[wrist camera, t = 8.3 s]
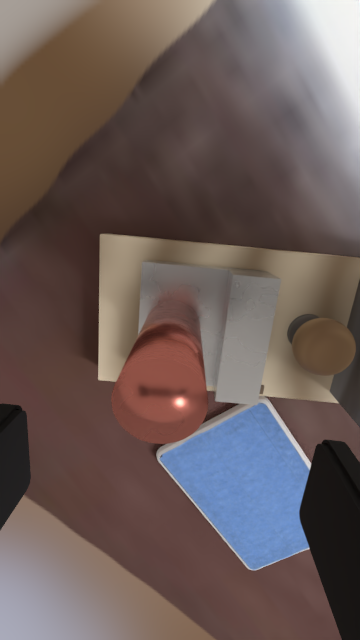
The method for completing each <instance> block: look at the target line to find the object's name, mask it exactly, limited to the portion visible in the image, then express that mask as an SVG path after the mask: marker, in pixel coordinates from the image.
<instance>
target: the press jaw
mask: <svg viewBox="0 0 360 640" xmlns="http://www.w3.org/2000/svg"><path fill="white" fill-rule="evenodd" d="M280 284H281V279H280V278H278V277H276V276H275V275H273V274H271V273H269V272H268V271H261V270H250V269H240V268H229V267H219V266H208V265H198V264H187V263H177V262H166V261H156V260H144V261H142V271H141V290H140V310H139V329H138V337H137V339H136V341H135V343H134V345H133V347H132V350H131V352H130V354H129V356H128V358H127V360H126V362H125V364H124V366H123V368H122V370H121V372H120V374H119V377H118V379H117V381H116V383H115V385H114V388H113V391H112V398H111V400H112V408H113V412H114V415H115V417H116V419H117V420H118V422H119V423H120V425H121V426H122V427H123V428H124V429H125V430H126V431H127V432H128V433H130V434H131V435H133V436H134V437H136V438H138V439H140V440H143V441H146V442H150V443H156V444H168V443H174V442H177V441H180V440H183V439H185V438H187V437H188V436H190V435H191V434H193V433H194V432H195V431H196V430H197V429H198V428H199V427H200V425H201V424H202V423H203V421H204V419H205V416H206V414H207V409H208V396H207V387H206V386H213V390H214V397H215V401H218V402H229V403H239V404H249V405H257V404H258V399H259V394H260V388H261V383H262V378H263V373H264V367H265V362H266V357H267V352H268V346H269V341H270V336H271V331H272V325H273V320H274V315H275V310H276V304H277V299H278V294H279V289H280Z"/></svg>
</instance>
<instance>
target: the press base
mask: <svg viewBox="0 0 360 640" xmlns="http://www.w3.org/2000/svg"><path fill="white" fill-rule="evenodd" d="M144 260H156V261H166V262H177V263H187V264H198V265H208V266H219V267H229V268H240V269H250V270H261V271H268V272H269V273H271V274H273V275H275V276H276V277H278V278H280V279H281V284H280V289H279V294H278V299H277V304H276V310H275V315H274V320H273V325H272V331H271V336H270V341H269V346H268V352H267V357H266V362H265V367H264V373H263V378H262V383H261V388H260V394H259V396H270V397H280V398H290V399H301V400H311V401H321V402H332V403H340V405H341V406H342V407H343V408H344V409H345V410H346V412H347V413H348V414H349V415H350V416H351V417H352V419H353V420H354V421H355V422H356V423H357V425H358V426H359V427H360V257H350V256H339V255H329V254H318V253H308V252H297V251H286V250H276V249H265V248H255V247H244V246H234V245H223V244H213V243H202V242H191V241H181V240H170V239H160V238H149V237H139V236H128V235H118V234H100V270H99V360H98V380H104V381H114V382H116V381H117V379H118V377H119V374H120V372H121V370H122V368H123V366H124V364H125V362H126V360H127V358H128V356H129V354H130V352H131V350H132V347H133V345H134V343H135V341H136V339H137V337H138V329H139V310H140V290H141V271H142V261H144ZM206 387H207V391H214V390H213V386H206Z"/></svg>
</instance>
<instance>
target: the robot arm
mask: <svg viewBox="0 0 360 640" xmlns="http://www.w3.org/2000/svg"><path fill="white" fill-rule="evenodd" d="M30 479H31V475H30V460H29V445H28V430H27V415H26V412H25V411H22V408H21V406H19V405H11V404H0V530H1V528H2V527H3V525H4V524H5V522H6V521H7V519H8V518H9V516H10V514H11V513H12V511H13V510H14V509H15V507H16V505H17V504H18V502H19V501H20V499H21V498H22V496H23V495H24V493H25V492H26V490H27V488H28V486H29V483H30ZM299 517H300V522H301V525H302V528H303V531H304V534H305V537H306V539H307V542H308V545H309V548H310V551H311V554H312V556H313V559H314V562H315V565H316V568H317V570H318V573H319V576H320V579H321V582H322V585H323V587H324V590H325V593H326V596H327V599H328V601H329V604H330V607H331V610H332V613H333V616H334V618H335V621H336V624H337V627H338V630H339V633H340V635H341V638H342V640H360V463H359V461H358V460H357V458H356V457H355V455H354V454H353V453H352V451H351V450H350V448H349V447H348V446H347V444H346V443H345V442H341V441H333V440H324V441H323V442H322V444H318V445H317V446H316V449H315V453H314V456H313V460H312V464H311V468H310V471H309V475H308V479H307V483H306V486H305V490H304V494H303V498H302V502H301V505H300V510H299Z"/></svg>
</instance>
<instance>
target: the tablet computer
mask: <svg viewBox="0 0 360 640" xmlns="http://www.w3.org/2000/svg"><path fill="white" fill-rule="evenodd" d="M156 456H157V460H158V461H159V463H160V464H161V465H162V466H163V467H164V469H165V470H166V471H167V472H168V473H169V475H170V476H171V477H172V478H173V479H174V481H175V482H176V483H177V484H178V485H179V487H180V488H181V489H182V490H183V491H184V493H185V494H186V495H187V496H188V497H189V499H190V500H191V501H192V502H193V503H194V505H195V506H196V507H197V508H198V509H199V511H200V512H201V513H202V514H203V515H204V517H205V518H206V519H207V520H208V521H209V523H210V524H211V525H212V526H213V527H214V529H215V530H216V531H217V532H218V533H219V535H220V536H221V537H222V539H223V540H224V541H225V542H226V543H227V544H228V546H229V547H230V548H231V549H232V550H233V551H234V553H235V554H236V555H237V556H238V557H239V559H240V560H241V561H242V562H243V563H244V565H245V566H246V567H247V568H248V569H250V570H258V569H260V568H262V567H265V566H267V565H270V564H272V563H274V562H277V561H279V560H282V559H284V558H287V557H289V556H292V555H294V554H297V553H299V552H302V551H304V550H306V549H309V545H308V542H307V539H306V537H305V534H304V531H303V528H302V525H301V522H300V517H299V510H300V505H301V502H302V498H303V494H304V490H305V486H306V483H307V479H308V475H309V471H310V468H311V463H310V461H309V460H308V458H307V457H306V455H305V454H304V452H303V451H302V449H301V448H300V446H299V445H298V443H297V441H296V440H295V439H294V437H293V436H292V434H291V433H290V431H289V430H288V428H287V427H286V425H285V423H284V422H283V420H282V419H281V417H280V416H279V414H278V413H277V411H276V410H275V408H274V407H273V405H272V404H271V402H270V401H269V399H268V398H266V397H265V396H259V399H258V404H257V405H249V404H238V405H236V406H234V407H233V408H231V409H229V410H227V411H225V412H223V413H221V414H220V415H218V416H216V417H214V418H212V419H210V420H208V421H206V422H205V423H203V424H201V425H200V427H199V428H198V429H197V430H196V431H195V432H194V433H193V434H191V435H190V436H188V437H187V438H185V439H183V440H180V441H177V442H174V443H168V444H165V445H164V446H162V447H160V448H159V449H158V451H157V453H156Z"/></svg>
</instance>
